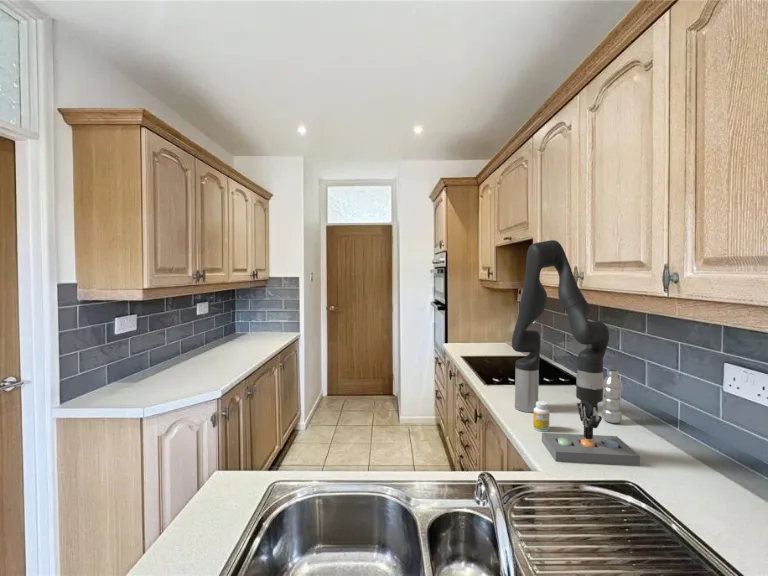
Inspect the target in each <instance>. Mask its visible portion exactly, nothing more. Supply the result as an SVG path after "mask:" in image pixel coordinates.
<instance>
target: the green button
mask: <svg viewBox="0 0 768 576" xmlns="http://www.w3.org/2000/svg"><path fill="white" fill-rule="evenodd" d="M558 444H559V445H564V446H572V441H571V440H570V439H567V438H558Z"/></svg>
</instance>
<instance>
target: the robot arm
mask: <svg viewBox="0 0 768 576" xmlns="http://www.w3.org/2000/svg"><path fill="white" fill-rule="evenodd" d="M525 261H526V262H525V263H526V264H525V272H524V273H525V274H524V281H523V286H522V291H521V292H522V293H521V297H520V302H519V306H518V307H519V308H518V315H517V319H516V323H515V326H514V330H513V332H512V338H511V346H512V349H513V350H514V351H515V352H518V353H529V354H528V355H526V356H525V357H522V358H519V359H517V360H515V364H514V365H515V367H514V368H515V369H514V370H515V374H514V375H515V376H514V377H515V379H514V382H515V383H514V409H515V410H518V411H520V412H524V413H534V408H535V407H536V402H537V401H539V389H540V388H539V384H540V381H539V380H540V374H539V372H540V371H539V370H540V356H541V355H540V354H541V342H542V341H541V335H540V332H539V330H533V329H532V330H531V329H528V328H529V326H531V325H532V324H533V323H534V322H535V321H536V320H538V319H539V318H540V317H541V316H542V315H543V313H544V311H545V309H546V305H547V300H548V294H547V291H546V289H545V287H544V285H543V283H542V282H541V280H540V279H541V278H540V276H541V271H542V270H543V269H544V268H545V269H546V268H550V267H554V268H555V270H556V271H557V273H558V279H559V281H558V290H557V291H558V292H557V293H558V294H557V295H558V299H559V302H560V304H561V305H562V308H563V309H564V311H565V313H566V314H567V317H568V322H569V325H570V331H571V334H572V336H573V338H574V339H575V340H576V341H577V343H579V344H581V345H583V346H585V345H586V346H585V348H584V349H583V350H581V351H580V352H579V353H578V355H577V371H576V382H575V383H576V385H575V391H576V393H575V397H576V399H578V400H580V402H578V403H576V405H577V410H578V414H579V418H580V419H579V420H580V422H582V425H583V435H584V437H585V438H586V439H593V435H594V429H597V428H598V426H599V425H600V423H601V421H602V419H603V417H602V415H599V414H598V413H599V407H598V404H599V403H601V402H603V401H604V390H603V380H604V374H603V373H604V356H605V354H606V350H607V347H608V346H609V345H608V344H609V339H610V332H609V331H610V330H609V328H608V326H607V325H606V324H605V323H604V322H602V321H598V320H597V321H595V320H594V321H588V317H587V316H588V315H589V314H590V313H591V307H590V305H589V304H588V302H587V300H586V298H585V296H584V295H583V293H582V292H581V289H580V288H579V286H578V284H577V281H576V278H575V276H574V273H573V270H572V267H571V265H570V262H569V260H568V257H567V255H566V252H565V250H564V248H563V246H562V244H561V242H559V241H557V240H555V239H552V240H545V241H540V242H539V241H538V242H535V243H532V244H531V245H529V247H528V249H527V253H526V259H525Z"/></svg>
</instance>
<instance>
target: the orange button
mask: <svg viewBox="0 0 768 576" xmlns="http://www.w3.org/2000/svg"><path fill="white" fill-rule="evenodd" d="M581 445H582V446H584V447H595V442H594V441H592V440H590V439H581Z"/></svg>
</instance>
